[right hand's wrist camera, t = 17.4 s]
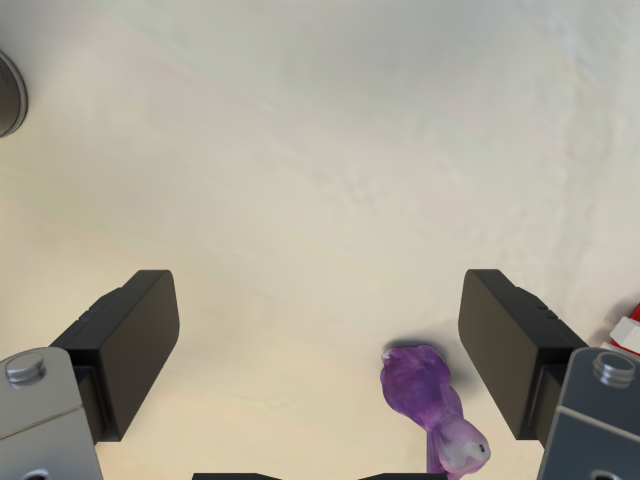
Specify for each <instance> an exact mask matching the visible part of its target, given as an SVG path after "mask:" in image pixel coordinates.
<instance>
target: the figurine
mask: <svg viewBox="0 0 640 480" xmlns="http://www.w3.org/2000/svg"><path fill="white" fill-rule="evenodd" d="M381 358H382V361H383V363H384V366H385V368H384V370H383V371H382V373H381V375H380V380H381V383H382V388H383V395H384V397H385V400H386V402H387V403H388V405H389V406H390V407H391V408H392V409H393V410H395V411H396V412H398V413H400V414H403V415H405V416H407V417H409V418H410V419H412V420H413V421H414V422H415V423H417V424H418V425H419V426H420V427H422V428H423V429H424V430H425V431H427V473H446V475H447V478H448V480H459V479H460V478H461V477H462V476H464V475H465V474H472V473H476V472H477V471H478V470H479V469H481V468H482V467H483V466H484V465H485V463H486V462H487V461H488V460H489V459H490V456H491V452H490V449H489V445H488V442H487V439H486V438H485V436H484V435H483V434H482V433H481V432H479V431H478V430H477V429H476V428H475V427H474V426H473V425H472V424H471V423H470V422H468V421H467V420H465V419H464V417H463V409H462V404H461V400H460V398H459V396H458V394H457V392H456V391H455V390H454V389H453V388H452V387H451V386H450V385H449V383H450V380H451V374H450V371H449V369H448V365H447V363H446V362H445V360H444V359H443V357H442V356H441V355H440V354H439V352H437V350H436V349H435V348H433V347H432V346H430V345H427V344H425V345H419V346H414V347H402V348H391V349H389V350H387V351H385V352H384V353H383V354H382V356H381Z"/></svg>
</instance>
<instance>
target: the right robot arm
mask: <svg viewBox="0 0 640 480" xmlns="http://www.w3.org/2000/svg"><path fill="white" fill-rule="evenodd" d="M26 107H27V97H26V91H25V87H24V84H23V81H22V79H21V76H20V74H19V73H18V71H17V69H16V68H15V66H14V65H13V63H12V62H11V61H10V60H9V59H8V57H7V56H6V55H5V54H4V53H2V52H1V51H0V138H2V137H5V136H8V135H9V134H11V133H13V132H14V131H15V130H16V129H17V128H18V127H19V126H20V124H21V123H22V121H23V119H24V116H25V113H26ZM179 328H180V322H179V314H178V307H177V300H176V293H175V287H174V280H173V276H172V273H171V272H170V271H169V270H139V271H138V272H137V273H136V274H135V275H134V276H133V277H132V278H131V279H130V280H129V281H128V282H127V283H126V284H125V285H124V286H123V287H121V288H117V289H115V290H113V291H111V292H109V293H107V294H106V295H104V296H102V297H100V298H99V299H98V300H97V301H96V302H95V303H94V304H93V305H92V306H91V307H90V308H89V311H85V312H84V313H83V314H82V315H81V316H80V317H79V320H76V321H75V322H74V323H73V324H72V325H71V326H70V327H69V328H67V329H66V330H65V331H64V332H63V333H62V334H61V335H60V336H59V337H58V338H57V339H56V340H55V341H54V342H53V343H52V344H51V345H49V346H48V347H42V348H35V349H31V350H27V351H23V352H21V353H18V354H15V355H13V356H10V357H8V358H6V359H4V360H2V361H1V362H0V480H103V476H102V472H101V469H100V465H99V461H98V458H97V454H96V450H95V445H96V443H97V442H120V441H121V440H122V438H123V436H124V434H125V433H126V431H127V429H128V427H129V426H130V424H131V422H132V420H133V419H134V417H135V415H136V413H137V412H138V410H139V408H140V406H141V404H142V403H143V401H144V399H145V397H146V396H147V394H148V392H149V390H150V389H151V387H152V385H153V383H154V382H155V380H156V378H157V376H158V375H159V373H160V371H161V369H162V367H163V366H164V364H165V362H166V360H167V359H168V357H169V355H170V353H171V352H172V350H173V348H174V346H175V345H176V342H177V340H178V336H179ZM458 329H459V336H460V339H461V342H462V344H463V346H464V348H465V349H466V351H467V353H468V355H469V357H470V358H471V360H472V362H473V364H474V366H475V367H476V369H477V371H478V373H479V374H480V376H481V378H482V380H483V382H484V383H485V385H486V387H487V389H488V391H489V392H490V394H491V396H492V398H493V399H494V401H495V403H496V405H497V407H498V408H499V410H500V412H501V414H502V415H503V417H504V419H505V421H506V423H507V424H508V426H509V428H510V430H511V432H512V433H513V435H514V437H515V439H516V440H539V441H540V443H541V444H542V446H543V448H544V449H545V450H544V454H543V458H542V461H541V465H540V469H539V472H538V476H537V480H640V362H639V361H638V360H636V359H634V358H632V357H630V356H627V355H625V354H622V353H619V352H617V351H613V350H609V349H605V348H598V347H589V346H588V345H587V344H586V343H585V342H584V341H583V340H582V339H581V338H580V337H579V336H578V335H577V334H575V333H574V332H573V331H572V330H571V329H570V328H569V327H568V326H567V325H566V324H565V323H564V322H563V321H562V320H561V319H558V316H557V315H556V314H555V313H553V312H552V311H551V310H548V307H547V306H546V305H545V304H544V303H543V302H542V301H541V300H540V299H539V298H538V297H537V296H535V295H533V294H531V293H529V292H527V291H526V290H524V289H522V288H520V287H515V286H514V285H513V284H512V283H511V282H510V281H509V280H508V279H507V277H506V276H505V275H504V274H503V273H502V272H501V271H499V270H498V269H469V270H468V271H467V272H466V274H465V278H464V284H463V291H462V299H461V306H460V313H459V320H458ZM192 480H281V479H277V478H273V477H269V476H265V475H261V474H257V473H194V475H193V478H192ZM359 480H448V478H447V475H446V473H383V474H379V475H375V476H371V477H367V478H363V479H359Z"/></svg>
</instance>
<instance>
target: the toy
mask: <svg viewBox="0 0 640 480" xmlns="http://www.w3.org/2000/svg"><path fill="white" fill-rule="evenodd" d="M610 336H611V337H612V338H613V339H614V340H613V341H612V343H611V344H608V343H606V342H604V343H603V344H602V345H601V347H600V348H605V349H609V350H613V351H617V352H619V353H622V354H625V355H627V356H630V357H632V358H634V359H636V360H638V361H639V362H640V304H639V305H638V307H637V308H636V310H635V311H634V312H633V314H632V315H631V316H630V318H628V317H625V316H623V318H622V319H621V320H620V322H619V323H618V324H617V325H616V327H615V328H614V329H613V331H612V332H611V333H610Z"/></svg>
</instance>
